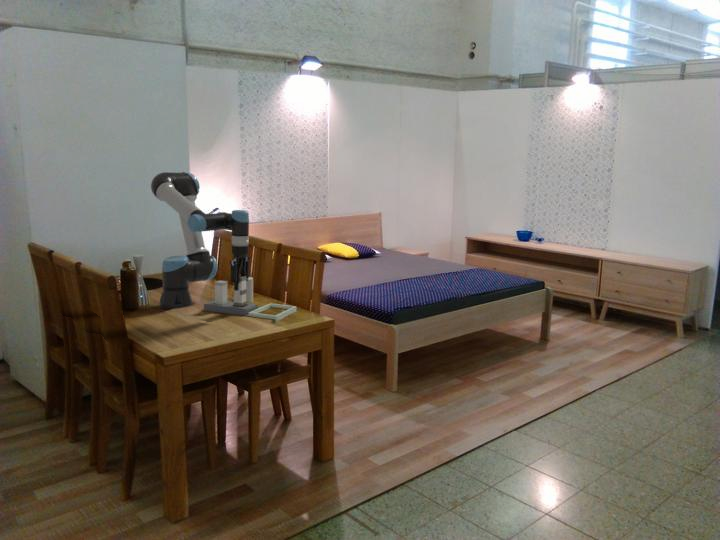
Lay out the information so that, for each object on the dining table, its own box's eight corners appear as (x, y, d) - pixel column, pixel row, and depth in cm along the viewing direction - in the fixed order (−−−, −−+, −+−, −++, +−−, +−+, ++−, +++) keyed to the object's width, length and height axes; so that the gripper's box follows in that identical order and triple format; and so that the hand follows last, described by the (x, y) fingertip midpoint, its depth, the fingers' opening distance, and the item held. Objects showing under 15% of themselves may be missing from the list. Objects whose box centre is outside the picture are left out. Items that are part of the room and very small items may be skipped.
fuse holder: (204, 312, 277) (203, 303, 276) (216, 307, 286) (216, 299, 286) (246, 317, 270) (246, 309, 269) (257, 312, 279) (257, 304, 279)
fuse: (214, 309, 278) (214, 282, 276) (219, 307, 282) (219, 280, 280) (222, 310, 277) (222, 282, 275) (227, 308, 281) (227, 281, 279)
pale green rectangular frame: (248, 318, 270) (248, 312, 269) (269, 308, 288) (269, 303, 288) (276, 321, 265) (276, 316, 265) (296, 311, 284) (296, 306, 283)
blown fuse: (233, 305, 275) (233, 277, 272) (238, 303, 279) (238, 275, 276) (241, 306, 273) (241, 278, 271) (246, 304, 277) (246, 276, 275)
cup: (241, 304, 294) (241, 280, 292) (233, 301, 300) (233, 277, 298) (256, 302, 299) (256, 278, 297) (247, 299, 305) (247, 276, 303)
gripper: (237, 248, 262) (237, 300, 266) (257, 243, 278) (256, 293, 282) (222, 246, 264) (222, 298, 269) (242, 242, 280) (242, 291, 285)
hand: (240, 295), depth 275 cm, fingers closed on blown fuse, 4 cm apart
